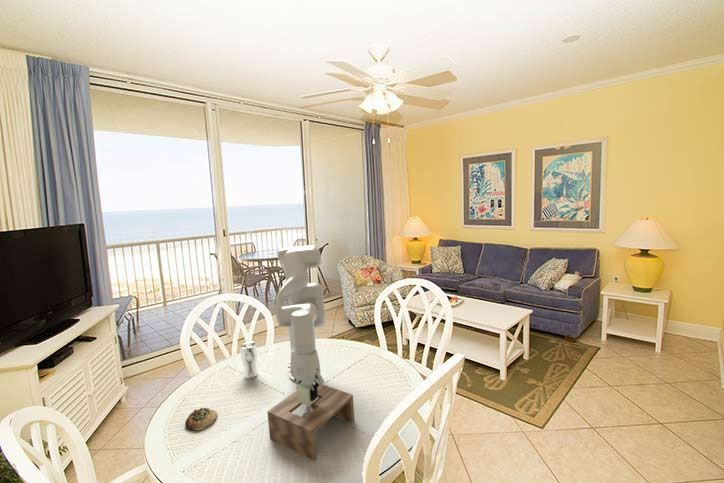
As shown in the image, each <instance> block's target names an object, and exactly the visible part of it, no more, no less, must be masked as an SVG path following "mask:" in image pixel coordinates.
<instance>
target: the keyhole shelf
mask: <svg viewBox="0 0 724 483" xmlns="http://www.w3.org/2000/svg"><path fill="white" fill-rule="evenodd" d="M302 405H303V404H302V403H299V402H298V398H297V390H296V391H294V392H293V393H291V394H290V395H288V396H287V397H285V399H283V400H282V401H280V402H278V403H277V404H276V405H274V406H273V407H271V408H270V409H269V410H268V411H267V412H266V413H267V423H268V433H269V439H271V440H272V441H275V442H276V443H278V444H279V445H280V444H281V445H282V446H284V447H286V448H288V449H290V450H292V451H294V452H296V453H298V454H300V455H301V456H304V457H305V458H308V459H310V460H312V461H313V462H314V461H315V460H317V458H318V449H317V437H316V435H317V433H316V431H318V430H319V429H320V428H321V427H322V426H323V425H324V424H325V423H327V421H328V420H330V419H331V418H332V417H336V418H339V419H342V420H344V421H346V422H348V423H353V422H354V421H355V408H354V407H355V406H354V395H353V394H352V393H348V392H345V391H343V390H339V389H337V388H334V387H331V386H328V385H325V384H324V383H322V384H321V385H320V386H319V387H318V399H317V400H316V401H315V402H313V403H312V404H311V408H314V409H313V410H311V413H310V414H309V415H307V416H306V417H305V418H302V416H300V415H297V414H295V413H293V412H294V411H295V410H297V409H298V408H299V407H300V406H302Z"/></svg>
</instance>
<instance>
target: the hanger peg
mask: <svg viewBox="0 0 724 483" xmlns="http://www.w3.org/2000/svg"><path fill="white" fill-rule="evenodd" d="M313 385H315V383H314V382H313ZM317 389H318V387H317ZM310 390H311V387H310V384H309V383H306V382H303V381H302V382H301V383H300V384H298V385H296V391H297V398H298V402H299V403H302V405H304V406H306V412H305V413H303V414H302V416H301V417H302V418H305V417H306V416H307V415H309V414H310V413H311V412H312V407H311V404H312V403H313V402H315V401H316V400H317V399H318V397H317V398H316V399H315V400H313V401H311V399H310Z"/></svg>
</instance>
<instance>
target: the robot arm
mask: <svg viewBox="0 0 724 483" xmlns="http://www.w3.org/2000/svg"><path fill="white" fill-rule="evenodd" d="M277 258H278V262H279V265H280V267H281V268H282V270H283V273H284V276H285V282H284V283H283V285H282V286H281V287H280V289H279V291H278V292H277V293H276V297H275V320H276V323H277V325H278V326H279V327H281V328H287V330H288V333H289V334H288V336H289V344H290V345H289V347H290V361H289V362H288V365H287V368H288V369H290V370H289V379H290V380H291V381H293V382H295V385H296V386H297V385H298V384H300V383H301V382H302V381H303V382H306V383H309V384H310V387H311V390H310V399H311V401H313V400H315V399H316V398H317V397H318V389H317V387H319V386H320V385H321V384H324V383H325V380H324V379H323V377H322V375H321V366H320V364H321V363H320V359H319V355H318V354H319V353H318V351H317V349H316V346H317V345H316V335H315V328H316V329H317V328H321V327H323V326H325V324H326V310H325V309H326V308H325V297H324V290H323V286H322V285H321V283H319V282H310V280H309V273H308V269H312V268H320V266H321V264H322V255H321V252H320V249H319V248H318V247H317V246H316V245H314V244H310V245H298V246H297V245H296V246H287V247H283V248H280V249H279V250H278V251H277ZM287 299H288V303H289V304H285V305H284V302H285V301H286V300H287ZM313 382H314V383H315V385H313Z"/></svg>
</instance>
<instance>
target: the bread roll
mask: <svg viewBox="0 0 724 483" xmlns="http://www.w3.org/2000/svg"><path fill="white" fill-rule="evenodd" d="M217 415H218V412H217V411H216V410H214V409H211V408H209V407H207V408H206V407H200V409H195V410H193V411H192V412H190V414H189V415H188V416H187V418H186V420H185V423H184V424H185V427H186V428H187V427H188V428H190V429H192V430H193V429H201V428H205V427H207V426H209V425H210V426H211V425H212V424H213V423H214V422H215V421H216V418H217ZM214 420H215V421H214ZM210 426H209V427H210ZM188 428H187V429H188ZM207 428H208V427H207ZM190 429H189V430H190ZM205 429H206V428H205Z"/></svg>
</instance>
